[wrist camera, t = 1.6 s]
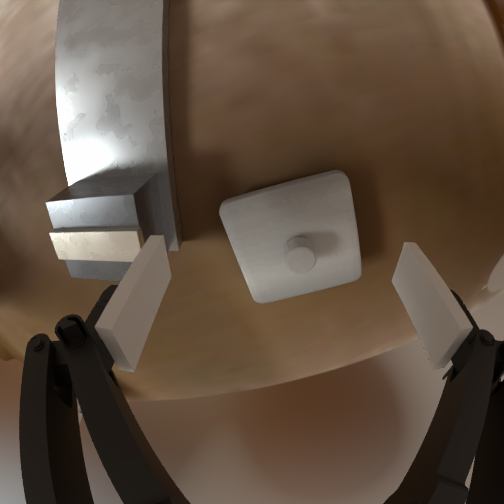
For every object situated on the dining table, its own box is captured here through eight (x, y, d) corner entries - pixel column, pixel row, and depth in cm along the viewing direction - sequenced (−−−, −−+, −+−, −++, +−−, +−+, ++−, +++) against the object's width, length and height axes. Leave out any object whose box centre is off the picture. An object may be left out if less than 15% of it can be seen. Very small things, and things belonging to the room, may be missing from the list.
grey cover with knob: (340, 162, 20) (357, 180, 16) (357, 264, 25) (370, 298, 20) (222, 192, 22) (208, 217, 18) (257, 285, 27) (252, 322, 23)
